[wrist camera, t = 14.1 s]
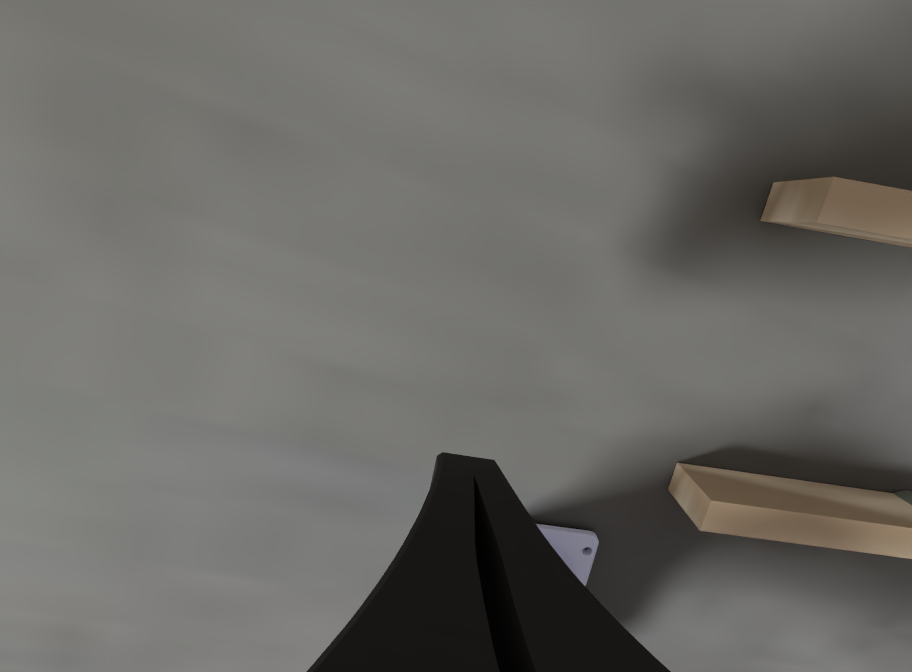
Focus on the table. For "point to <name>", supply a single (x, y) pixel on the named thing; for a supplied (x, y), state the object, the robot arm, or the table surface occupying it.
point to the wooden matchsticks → (796, 501)
